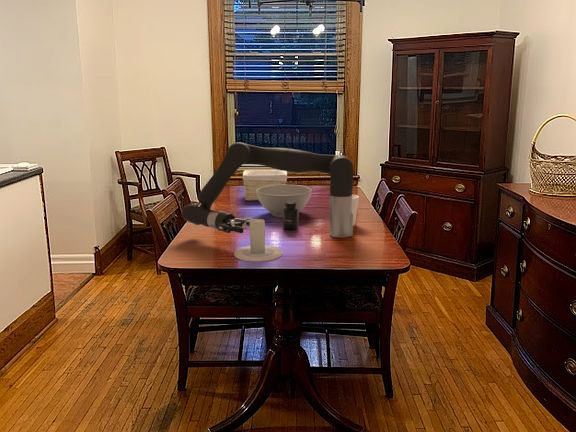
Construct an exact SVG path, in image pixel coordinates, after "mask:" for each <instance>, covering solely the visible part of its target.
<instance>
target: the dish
mask: <svg viewBox="0 0 576 432" xmlns="http://www.w3.org/2000/svg"><path fill="white" fill-rule="evenodd" d="M233 255H234V257H235V258H236V259H238V260H239V261H245V262H252V263H253V262H254V263H256V262H257V263H261V262H262V263H263V262H264V263H265V262H271V261H273V260H276V259H279V258H281V257H282V256H283V249H281V248H279V247H277V246H273V245H268V244H265V253H263V254H252V253H251V252H250V245H247V246H242V247H239V248H237V249H236V250H235V251H234V254H233Z"/></svg>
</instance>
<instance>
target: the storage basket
mask: <svg viewBox="0 0 576 432" xmlns="http://www.w3.org/2000/svg"><path fill="white" fill-rule="evenodd" d="M242 180H243V185H244V186H243V187H244V190H243V191H244V197H245V198H244V199H245V201H259V199H258V197H257V194H256V190H257V189H258V188H260V187H264V186H270V185H287V180H288V171H282V170H278V169H248V170H247V169H245V170H244V171H243V173H242Z"/></svg>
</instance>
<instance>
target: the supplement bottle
mask: <svg viewBox="0 0 576 432" xmlns="http://www.w3.org/2000/svg"><path fill="white" fill-rule="evenodd" d="M285 207H286V208H284V209H283V217H282V229H283V230H284V231H290V232H293V231H296V230H299V212H300V211H298V209H297V208H296V202H294V201H287V202H285Z"/></svg>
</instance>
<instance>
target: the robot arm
mask: <svg viewBox="0 0 576 432" xmlns="http://www.w3.org/2000/svg"><path fill="white" fill-rule="evenodd" d="M242 165H258V166H264V167H268V168H271V169H273V170H282V171H287V172H290V173H291V172H292V173H311V172H313V173H315V172H316V173H317V172H318V173H323V174H329V176H330V179H329V180H330V182H329V184H330V185H329V235H330V237H333V238H350V237H353V236H354V235H353V232H354V230H353V229H354V226H353V214H352V194H353V189H354V164H353V162H352V160H351V159H350V158H349V157H348V156H346V155H344V154H319V153H314V152H310V151H306V150H301V149H294V148H287V147H264V146H263V147H262V146H261V147H260V146H257V145H251V144H248V143H244V142H241V141H239V142H234V143H232V144H231V145H230V146H228V149H227V151H226V153H225V155H224V157H223V160H222V161H221V163H220V165H219V166H218V168H217V169H216V171H215V172H214V174H213V175H212V176H211V177H210V178H209V180H207V183H205V185H203V187H202V189H201V191H200V192H199V193H198V195H196V198H197V201H198V202H199V203H200V204H199V206H198V205H195V204H186V205H184V206H183V208H182V210H181V216H182V219H183V220H184V221H187V222H189V223H191V224H193V225H196V226H200V225H202V226H204V227H207V228H210V229H213V230H216V231H221V232H224V233H227V234H230V233H238V234H243V233H244V229H246V228H250V220H253V219H254V218H249V217H243V216H242V218H236V217H235V215H234V214H232V213H231V212H226V211H221V210H214V209H211V208H212V206H213V204H214V203H215V202H216V201H217V199H218V197H219V196H220V195H221V193H222V191H223V190H224V188H225V187H226V185H227V183H228V182H229V180H230V179H231V178H232V176H233V175H234V173H236V172H237V170H238V169H240V168H241V167H242ZM243 225H244V226H243Z"/></svg>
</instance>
